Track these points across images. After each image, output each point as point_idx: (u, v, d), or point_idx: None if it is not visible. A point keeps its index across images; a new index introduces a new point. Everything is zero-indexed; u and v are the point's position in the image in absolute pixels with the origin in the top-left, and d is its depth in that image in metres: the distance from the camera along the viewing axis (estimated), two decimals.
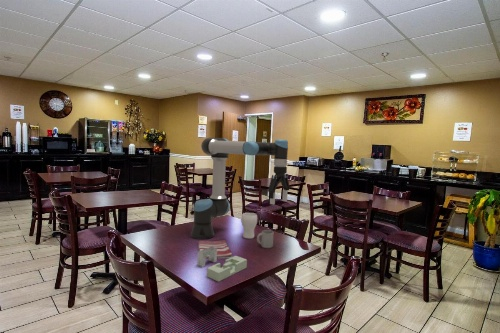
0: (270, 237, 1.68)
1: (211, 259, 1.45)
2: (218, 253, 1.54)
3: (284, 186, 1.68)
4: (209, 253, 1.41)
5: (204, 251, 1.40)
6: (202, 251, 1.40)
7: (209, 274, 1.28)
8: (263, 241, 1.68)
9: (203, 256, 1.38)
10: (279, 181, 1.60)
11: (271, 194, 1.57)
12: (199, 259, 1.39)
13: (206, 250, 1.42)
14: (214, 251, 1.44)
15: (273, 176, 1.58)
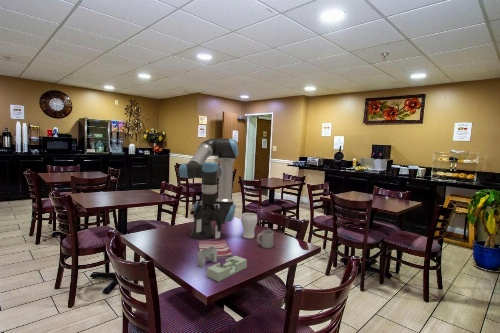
0: (270, 237, 1.68)
1: (211, 259, 1.45)
2: (218, 253, 1.54)
3: None
4: (209, 253, 1.41)
5: (204, 251, 1.40)
6: (202, 251, 1.40)
7: (209, 274, 1.28)
8: (263, 241, 1.68)
9: (203, 256, 1.38)
10: (202, 209, 1.41)
11: None
12: (199, 259, 1.39)
13: (206, 250, 1.42)
14: (214, 251, 1.44)
15: None
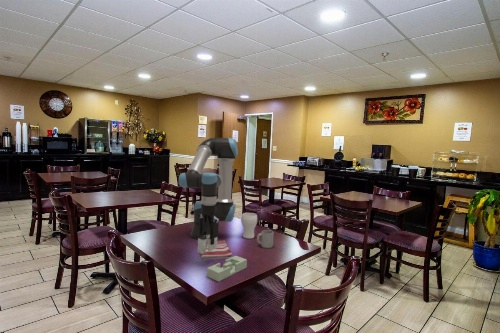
0: (270, 237, 1.68)
1: None
2: (218, 253, 1.55)
3: None
4: None
5: (204, 238, 1.40)
6: (202, 238, 1.40)
7: (209, 274, 1.28)
8: (263, 241, 1.68)
9: (203, 243, 1.38)
10: (203, 221, 1.41)
11: None
12: (200, 245, 1.39)
13: (206, 237, 1.42)
14: (214, 238, 1.44)
15: None
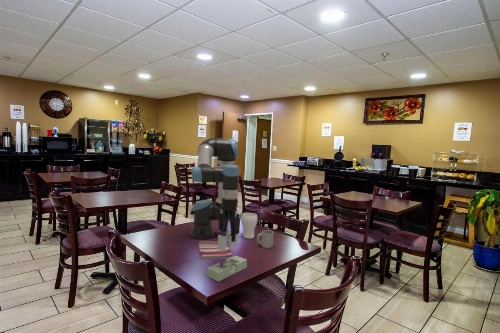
0: (270, 237, 1.68)
1: None
2: (218, 253, 1.55)
3: None
4: None
5: (225, 234, 1.31)
6: (223, 234, 1.31)
7: (209, 274, 1.28)
8: (263, 241, 1.68)
9: (224, 239, 1.29)
10: (223, 217, 1.32)
11: None
12: (220, 242, 1.29)
13: (227, 233, 1.32)
14: None
15: None
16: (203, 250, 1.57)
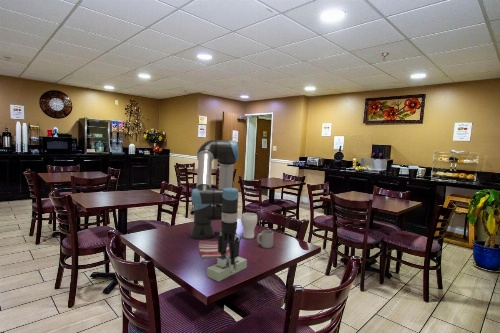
0: (270, 237, 1.68)
1: None
2: (218, 253, 1.55)
3: None
4: None
5: (224, 257, 1.31)
6: (222, 257, 1.31)
7: (209, 274, 1.28)
8: (263, 241, 1.68)
9: (224, 262, 1.29)
10: (223, 239, 1.33)
11: None
12: (220, 265, 1.30)
13: (226, 256, 1.33)
14: None
15: None
16: (203, 250, 1.57)
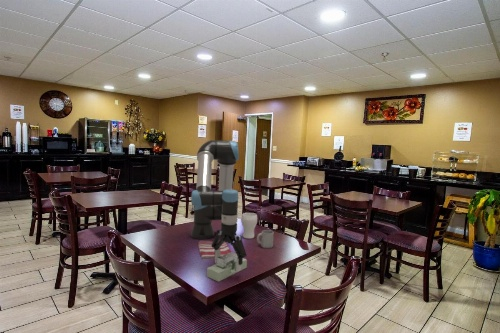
0: (270, 237, 1.68)
1: None
2: None
3: None
4: (229, 259, 1.32)
5: (224, 257, 1.31)
6: (222, 257, 1.31)
7: (209, 274, 1.28)
8: (263, 241, 1.68)
9: (224, 262, 1.29)
10: (221, 239, 1.34)
11: None
12: (220, 265, 1.30)
13: (226, 256, 1.33)
14: (234, 257, 1.35)
15: None
16: (203, 250, 1.57)
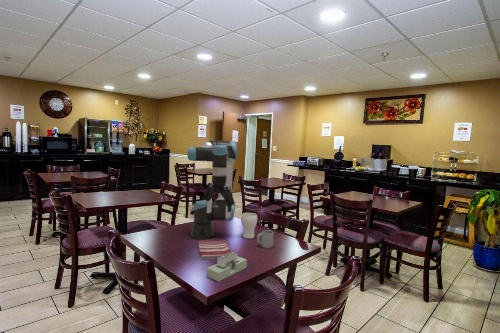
0: (270, 237, 1.68)
1: None
2: (218, 253, 1.55)
3: None
4: (229, 259, 1.32)
5: (224, 257, 1.31)
6: (222, 257, 1.31)
7: (209, 274, 1.28)
8: (263, 241, 1.68)
9: (224, 262, 1.29)
10: (212, 190, 1.47)
11: None
12: (220, 265, 1.30)
13: (226, 256, 1.33)
14: (234, 257, 1.35)
15: None
16: (203, 250, 1.57)
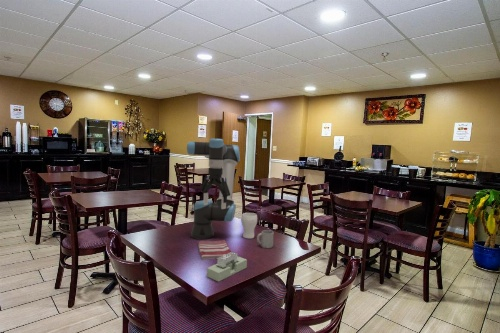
0: (270, 237, 1.68)
1: None
2: (218, 253, 1.55)
3: None
4: (229, 259, 1.32)
5: (224, 257, 1.31)
6: (222, 257, 1.31)
7: (209, 274, 1.28)
8: (263, 241, 1.68)
9: (224, 262, 1.29)
10: (208, 182, 1.52)
11: None
12: (220, 265, 1.30)
13: (226, 256, 1.33)
14: (234, 257, 1.35)
15: None
16: (203, 250, 1.58)
